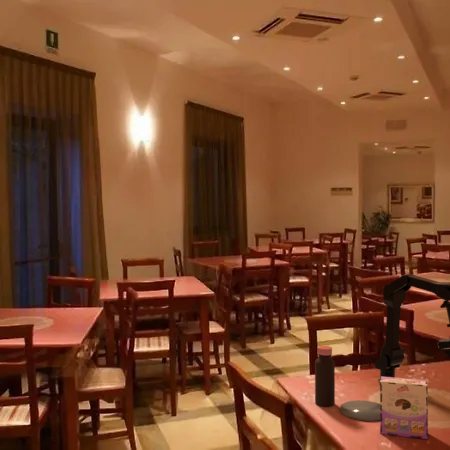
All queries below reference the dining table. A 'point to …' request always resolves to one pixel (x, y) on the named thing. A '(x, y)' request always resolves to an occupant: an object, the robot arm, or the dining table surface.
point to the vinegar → (324, 377)
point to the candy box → (404, 407)
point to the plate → (361, 410)
